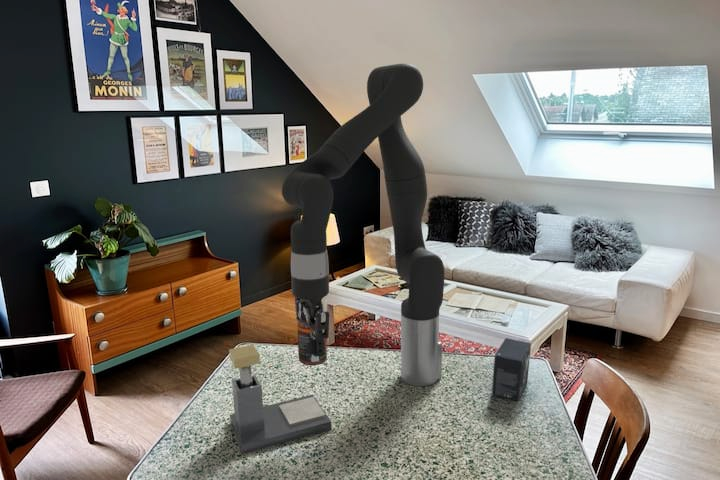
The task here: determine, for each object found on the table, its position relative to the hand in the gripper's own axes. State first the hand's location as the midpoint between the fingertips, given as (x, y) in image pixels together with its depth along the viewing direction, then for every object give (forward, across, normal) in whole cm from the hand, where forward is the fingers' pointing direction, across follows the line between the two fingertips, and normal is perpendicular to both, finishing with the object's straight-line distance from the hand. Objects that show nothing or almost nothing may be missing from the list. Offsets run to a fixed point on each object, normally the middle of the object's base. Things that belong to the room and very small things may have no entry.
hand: (312, 348), depth 114 cm
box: (+18, -7, -47) cm, 51 cm away
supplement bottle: (+3, 0, 0) cm, 3 cm away
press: (+18, +3, +7) cm, 19 cm away
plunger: (+11, +3, +13) cm, 18 cm away
